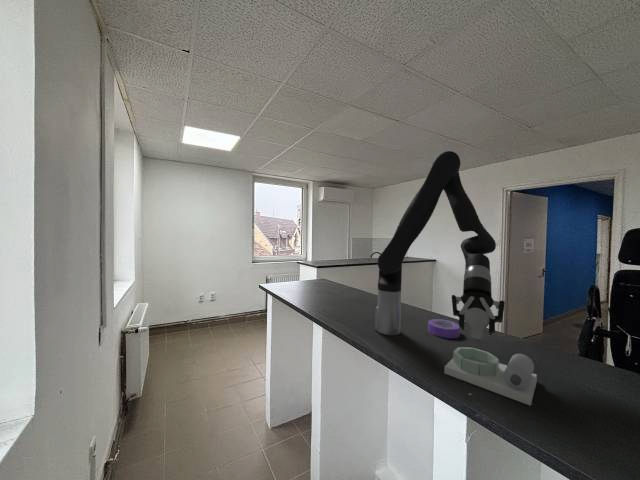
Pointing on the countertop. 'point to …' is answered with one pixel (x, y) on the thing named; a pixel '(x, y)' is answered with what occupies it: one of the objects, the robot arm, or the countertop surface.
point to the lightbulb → (476, 324)
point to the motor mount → (495, 373)
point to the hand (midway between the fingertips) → (476, 330)
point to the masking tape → (443, 328)
